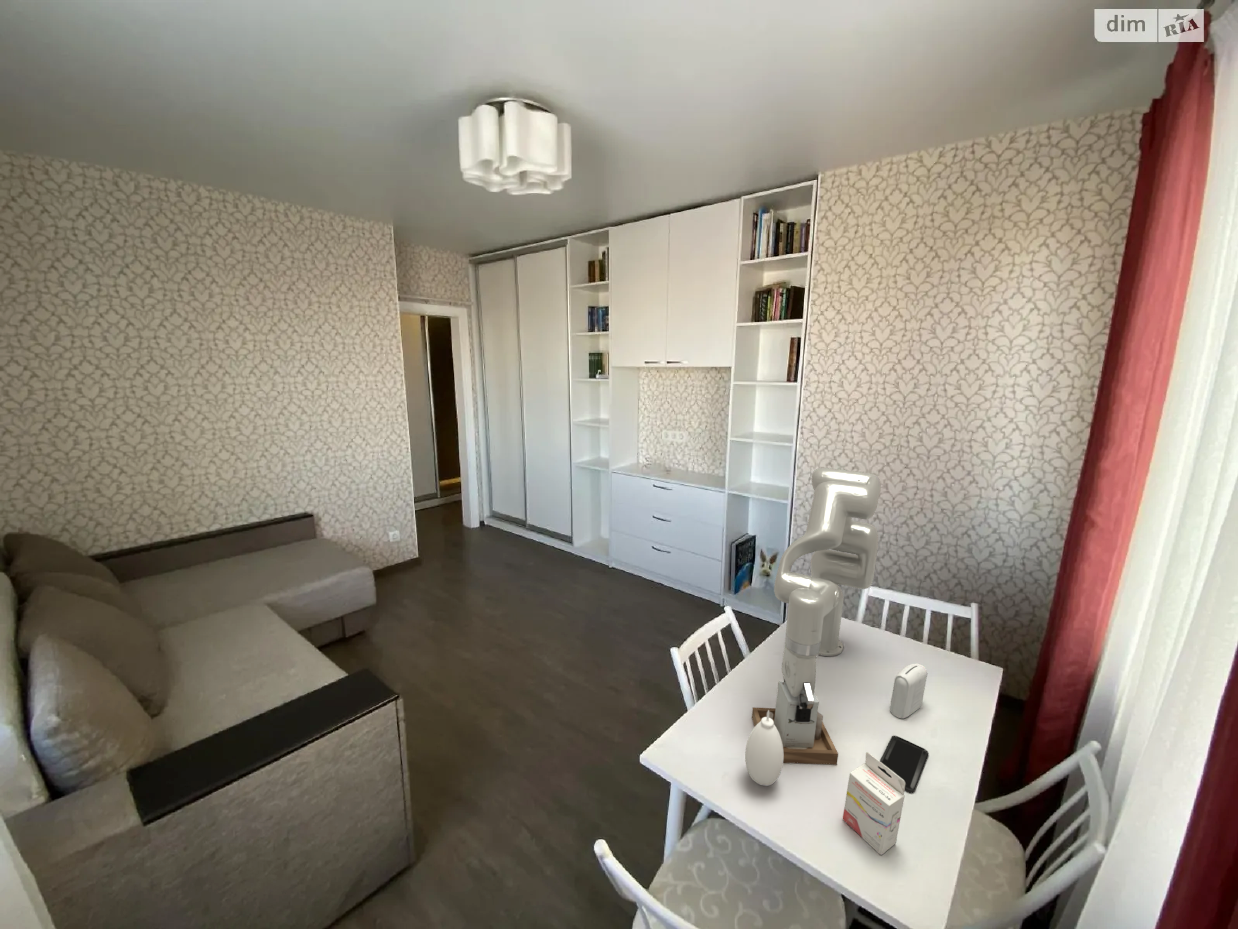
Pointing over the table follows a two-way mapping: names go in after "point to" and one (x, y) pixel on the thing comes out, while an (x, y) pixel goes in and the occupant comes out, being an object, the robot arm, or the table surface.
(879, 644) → the table surface
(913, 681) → the white rounded block
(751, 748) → the air blower bulb
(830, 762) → the caddy
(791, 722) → the supplement box
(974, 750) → the table surface
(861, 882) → the table surface
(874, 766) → the ink cartridge box
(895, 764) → the phone
